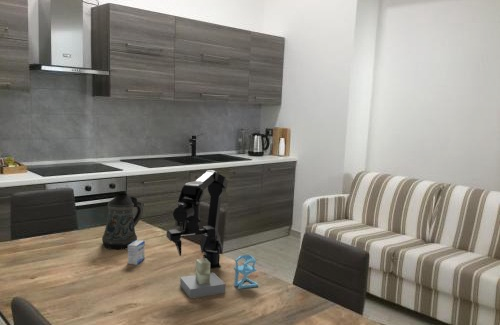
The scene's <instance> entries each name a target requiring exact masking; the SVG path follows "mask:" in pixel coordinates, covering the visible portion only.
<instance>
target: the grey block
mask: <svg viewBox="0 0 500 325" xmlns="http://www.w3.org/2000/svg"><path fill="white" fill-rule="evenodd" d="M179 278H180V279H179V282H180V284H179V285H180V286H179V287H180V288H181V289H182V290H183V292H184V293H185V294H186V295H187V296H188V297H189V299H195V298H202V297H208V296H213V295H220V294H226V283H225V282H224V281H223V280H222V279H221V278H220V277H219V276H218V275H217V274H216V273H215V272H210V283H204V284H199V283H198V281H197V280H196V274H194V275H187V276H180V277H179Z"/></svg>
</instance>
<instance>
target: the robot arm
mask: <svg viewBox="0 0 500 325" xmlns="http://www.w3.org/2000/svg"><path fill="white" fill-rule="evenodd" d="M228 183H229V182H228V180H227V179H226V177H225V176H224V175H222V174H220V173H219V172H218V171H217V170H211V169H208V170H206V171H205V173H203V174H202V175H201V176H200V177H198V178H197V179H196V180H194V181H189V182H185V183H184V184H183V186H182V188H181V191H180V194H179V196H178V200H177V202H178V205H177V207H176V208H175V209H174V210H173V212H172V215H173V218H174V220H175V221H174V222H175V227H176V228H175V229H168V230H167V231H166V238H167V239H168V240H169V241H170V242H173V243H174V244H175V247H176V250H177V253H178V256H179V257H181V256H182V240H181V239H182V237H189V236H197V235H200V236H201V239H200V241H199V242H200V243H199V245H200V252H201V254H203V255H202V259H203V258H206V259H207V260H208V261H209V262H210V269H212V268H219V267H221V264H220V255H222V254H223V251H224V246H223V244H222V241H221V235H220V233H219V231H218V229H219V220H220V211H221V203H222V202H221V201H222V197H223V196H224V195H225V193H226V192H227V188H228V186H229V184H228ZM206 188H207V192H208V194H209V196H210V198H209V199H210V200H209V206H208V207H209V208H208V214H207V222H206V224H207V225H205V226H202V227H201V229H200V223H201V219H200V212H201V211H200V209H201V208H200V207H201V206H200V203H202V198H203V196H204V195H205V194H204V192H205V189H206ZM178 227H179V228H180V230H182V231H179V230H178V229H177V228H178Z"/></svg>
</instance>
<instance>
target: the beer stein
mask: <svg viewBox="0 0 500 325" xmlns="http://www.w3.org/2000/svg"><path fill="white" fill-rule="evenodd" d="M107 208H108V213H107V219H106V225H105V227H104V228H105V229H104V231H103V235H102V238H101V241H102V245H103V248H105V249H108V250H115V251H118V250H119V251H120V250H121V251H122V250H128V245H129V244H131V243H132V242H134V241H135V240H138V236H137V234H136V230H135V227H136V226H137V224H138V223H139V222H140V219H141V218H142V216H143V211H144V209H143V205H142V202H140V201H138V199H137V197H136V196H133V195H129V194H128V193H117V194H116V196H115V197H113V198H112V199H111V200H109V201H108V202H107ZM134 208H136V209H137V210H136V213H135V216H134V214H133V209H134Z"/></svg>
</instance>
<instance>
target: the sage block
mask: <svg viewBox="0 0 500 325" xmlns="http://www.w3.org/2000/svg"><path fill="white" fill-rule="evenodd" d="M210 273H211V268H210V262H209V261H208V260H207V259H206V258H203V257H202V258H197V259H195V275H196V280H197V281H198V283H199V284H204V283H210Z"/></svg>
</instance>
